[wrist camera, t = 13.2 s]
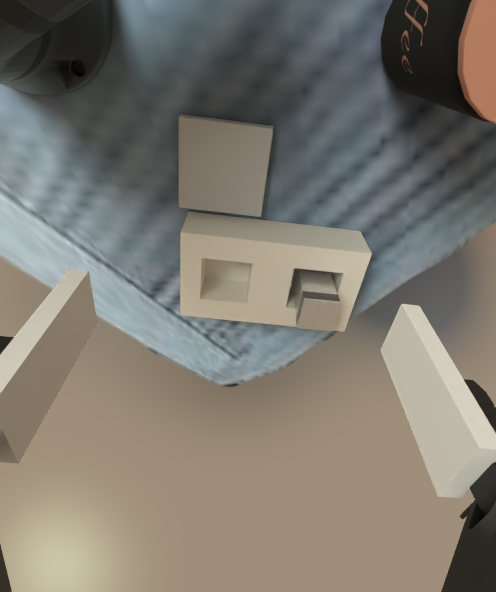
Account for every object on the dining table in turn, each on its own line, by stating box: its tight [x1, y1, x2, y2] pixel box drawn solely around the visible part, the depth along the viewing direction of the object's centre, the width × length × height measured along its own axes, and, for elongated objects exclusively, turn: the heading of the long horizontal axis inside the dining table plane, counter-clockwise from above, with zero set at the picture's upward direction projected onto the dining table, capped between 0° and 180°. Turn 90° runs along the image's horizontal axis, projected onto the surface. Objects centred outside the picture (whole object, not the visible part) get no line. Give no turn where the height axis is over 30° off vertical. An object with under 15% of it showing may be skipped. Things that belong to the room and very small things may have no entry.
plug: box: [291, 268, 340, 332], centre depth 45 cm, size 4×4×10 cm
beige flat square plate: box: [179, 114, 273, 217], centre depth 42 cm, size 10×10×2 cm
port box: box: [180, 211, 372, 332], centre depth 47 cm, size 22×12×6 cm, turn 84°
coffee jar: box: [381, 0, 496, 124], centre depth 27 cm, size 11×11×18 cm
